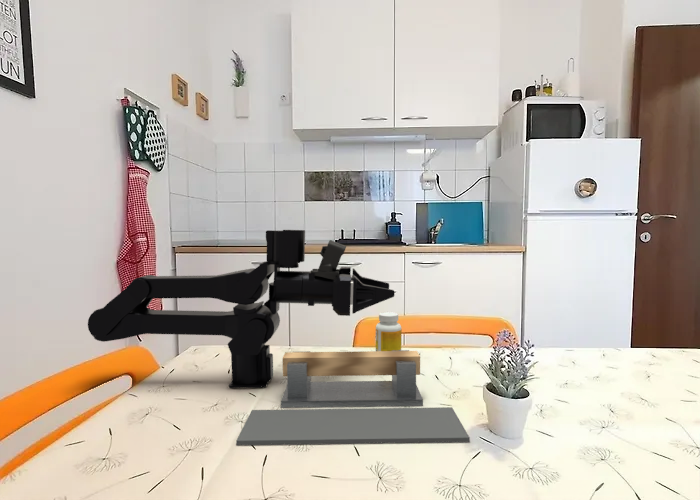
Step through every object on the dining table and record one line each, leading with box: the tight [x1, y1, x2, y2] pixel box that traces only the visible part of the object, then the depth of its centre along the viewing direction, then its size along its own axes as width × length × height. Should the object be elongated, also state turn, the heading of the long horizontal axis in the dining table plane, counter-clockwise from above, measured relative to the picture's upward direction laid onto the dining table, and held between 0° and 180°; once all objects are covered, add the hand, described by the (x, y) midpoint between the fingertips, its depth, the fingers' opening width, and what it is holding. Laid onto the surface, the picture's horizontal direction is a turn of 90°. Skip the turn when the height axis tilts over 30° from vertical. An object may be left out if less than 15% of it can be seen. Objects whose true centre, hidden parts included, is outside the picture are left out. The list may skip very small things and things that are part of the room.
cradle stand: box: [280, 349, 424, 409], centre depth 69 cm, size 22×8×6 cm, turn 91°
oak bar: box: [282, 350, 421, 377], centre depth 69 cm, size 22×3×3 cm, turn 91°
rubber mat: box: [235, 406, 471, 446], centre depth 58 cm, size 30×9×1 cm, turn 91°
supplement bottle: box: [375, 311, 402, 351], centre depth 88 cm, size 5×5×10 cm
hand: (391, 289), depth 75 cm, fingers open, 9 cm apart
